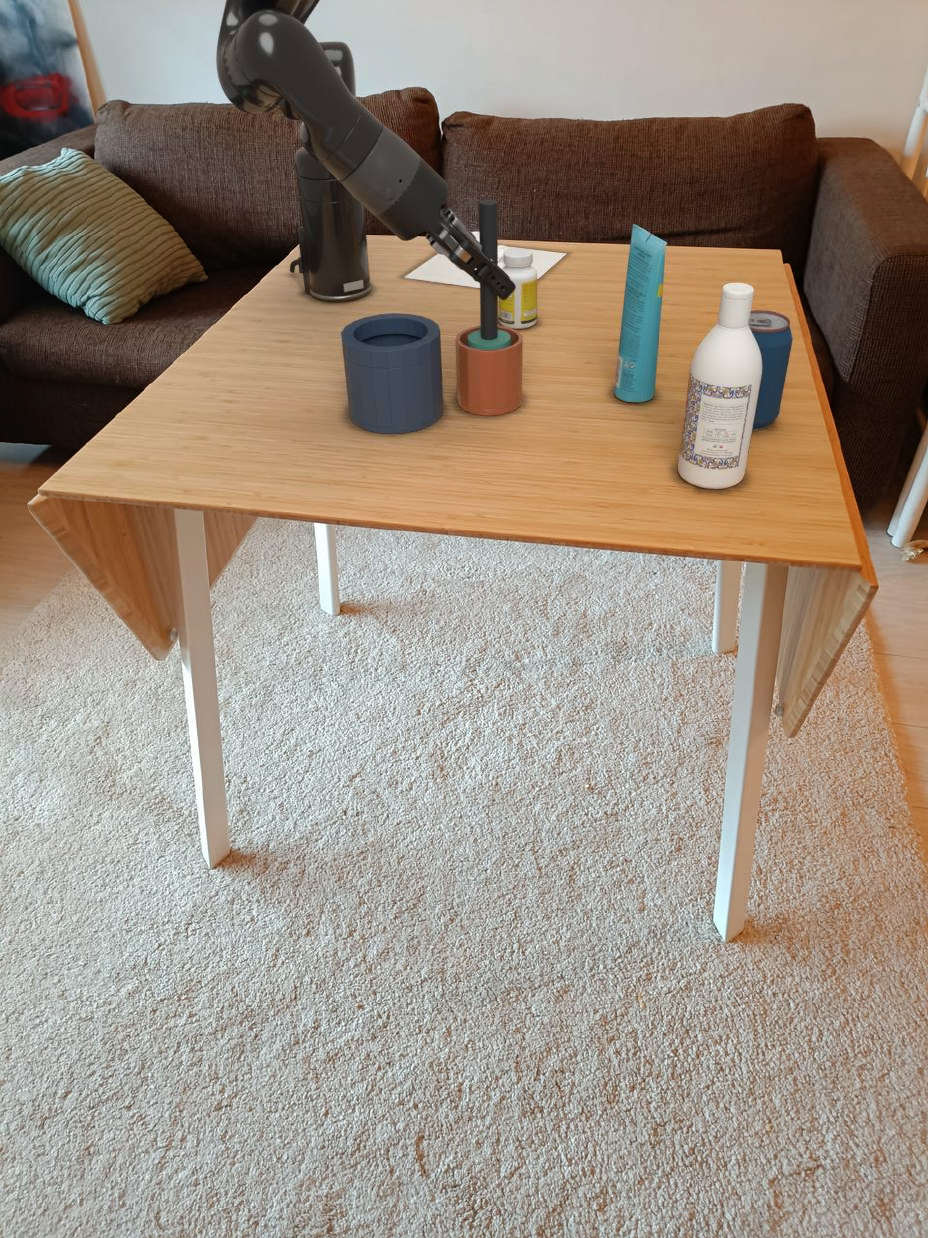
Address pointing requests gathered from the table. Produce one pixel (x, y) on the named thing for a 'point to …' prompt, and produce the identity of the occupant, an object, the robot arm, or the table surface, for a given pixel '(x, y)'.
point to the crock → (489, 375)
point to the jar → (393, 372)
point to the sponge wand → (488, 330)
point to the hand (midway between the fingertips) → (506, 288)
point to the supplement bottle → (519, 290)
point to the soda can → (770, 362)
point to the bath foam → (722, 396)
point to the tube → (641, 318)
